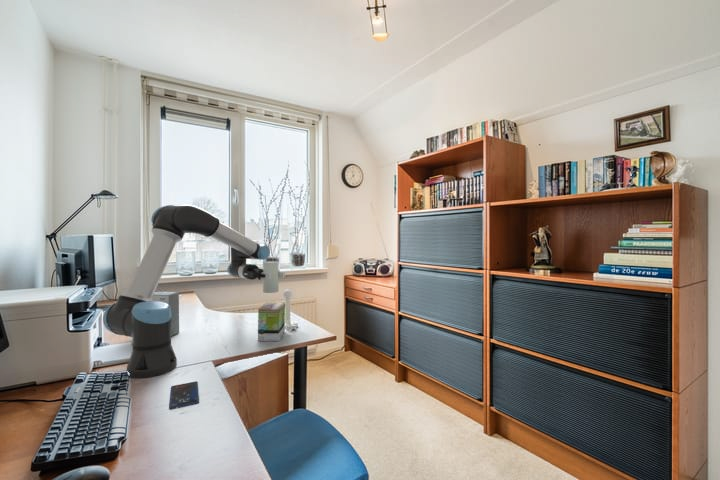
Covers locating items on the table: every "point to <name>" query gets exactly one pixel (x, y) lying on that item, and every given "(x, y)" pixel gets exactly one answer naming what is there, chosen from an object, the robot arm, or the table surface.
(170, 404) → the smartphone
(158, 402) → the table surface
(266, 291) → the canister
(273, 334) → the tea box
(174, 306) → the hard drive box
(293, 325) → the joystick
